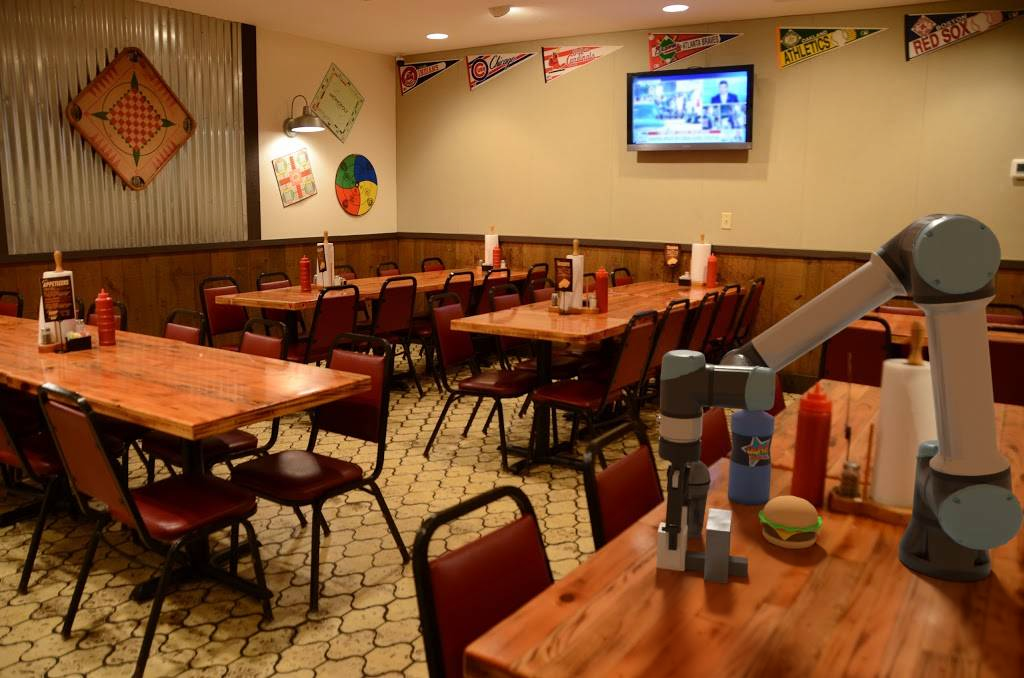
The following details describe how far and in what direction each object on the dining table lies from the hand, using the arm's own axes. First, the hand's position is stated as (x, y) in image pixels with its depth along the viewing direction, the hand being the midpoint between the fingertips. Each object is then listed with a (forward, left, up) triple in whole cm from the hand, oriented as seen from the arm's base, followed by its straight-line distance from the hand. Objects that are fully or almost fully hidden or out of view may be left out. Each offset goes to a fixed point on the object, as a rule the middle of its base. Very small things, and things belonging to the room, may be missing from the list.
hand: (675, 551), depth 149 cm
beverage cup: (-2, -15, -3) cm, 15 cm away
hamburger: (-21, -18, -3) cm, 27 cm away
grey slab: (-8, 0, -3) cm, 8 cm away
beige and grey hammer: (-5, 0, -3) cm, 5 cm away
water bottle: (-13, -39, -3) cm, 41 cm away
